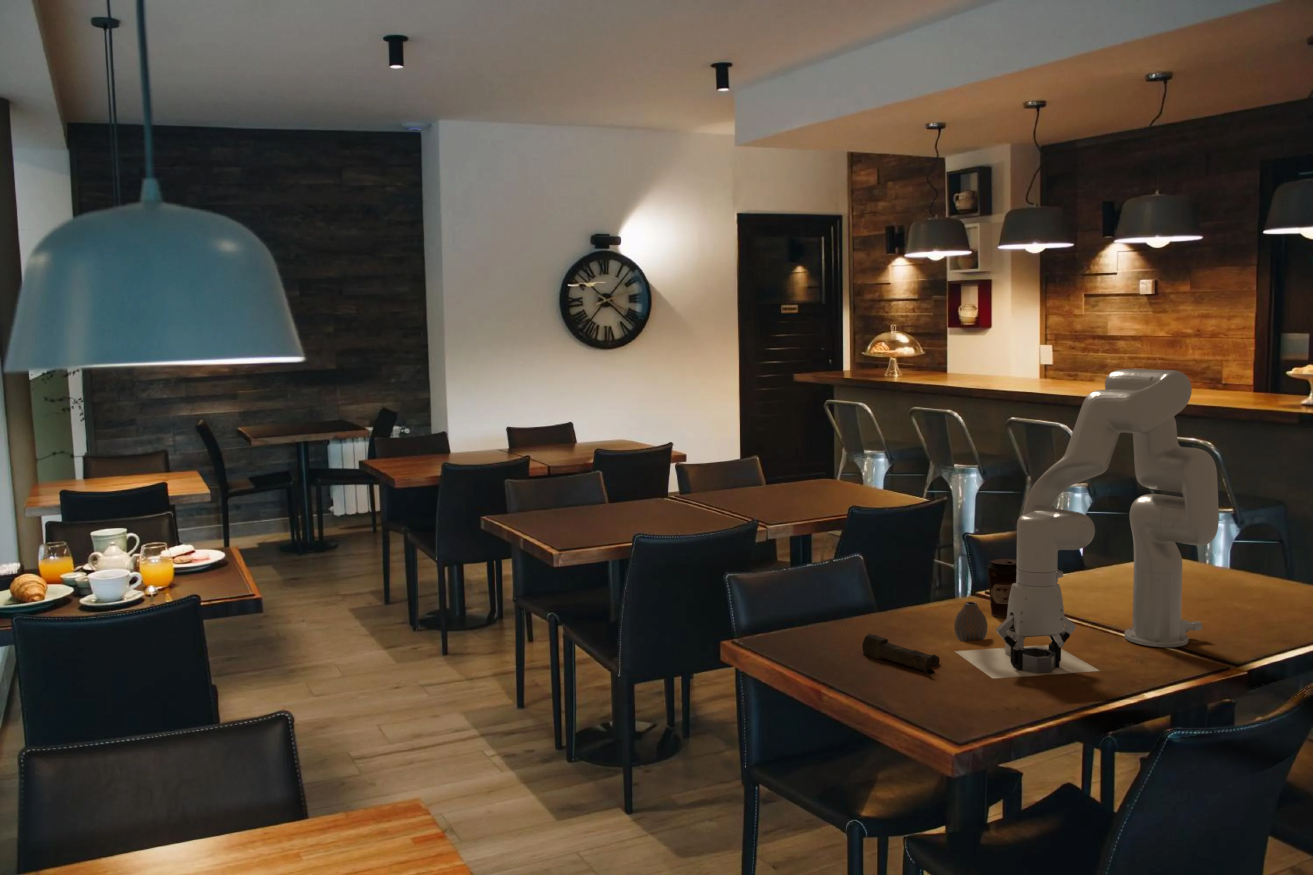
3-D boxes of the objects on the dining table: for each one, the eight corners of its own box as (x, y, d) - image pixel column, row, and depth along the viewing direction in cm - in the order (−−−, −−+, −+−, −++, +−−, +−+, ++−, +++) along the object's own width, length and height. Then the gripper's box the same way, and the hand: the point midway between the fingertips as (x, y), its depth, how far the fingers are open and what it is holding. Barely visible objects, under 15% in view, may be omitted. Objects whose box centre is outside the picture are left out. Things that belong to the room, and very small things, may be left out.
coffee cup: (1028, 619, 257) (1029, 564, 256) (992, 620, 257) (993, 565, 256) (1017, 609, 266) (1017, 556, 265) (982, 610, 266) (982, 557, 265)
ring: (1043, 660, 222) (1043, 646, 221) (1061, 671, 215) (1061, 656, 214) (1010, 663, 221) (1010, 648, 220) (1027, 674, 214) (1027, 658, 213)
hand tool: (941, 673, 221) (941, 650, 221) (927, 676, 219) (927, 653, 219) (872, 651, 237) (872, 630, 236) (858, 654, 235) (858, 633, 234)
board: (1054, 651, 233) (1054, 616, 232) (1100, 678, 215) (1100, 640, 214) (954, 658, 230) (954, 622, 229) (992, 685, 212) (992, 647, 211)
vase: (988, 647, 237) (989, 607, 236) (955, 646, 238) (955, 606, 237) (985, 638, 243) (986, 599, 242) (953, 637, 245) (953, 598, 244)
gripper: (1068, 571, 221) (1067, 658, 223) (986, 576, 218) (985, 663, 220) (1088, 579, 213) (1087, 669, 215) (1003, 584, 211) (1002, 675, 213)
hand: (1035, 665), depth 218 cm, fingers closed on ring, 7 cm apart
